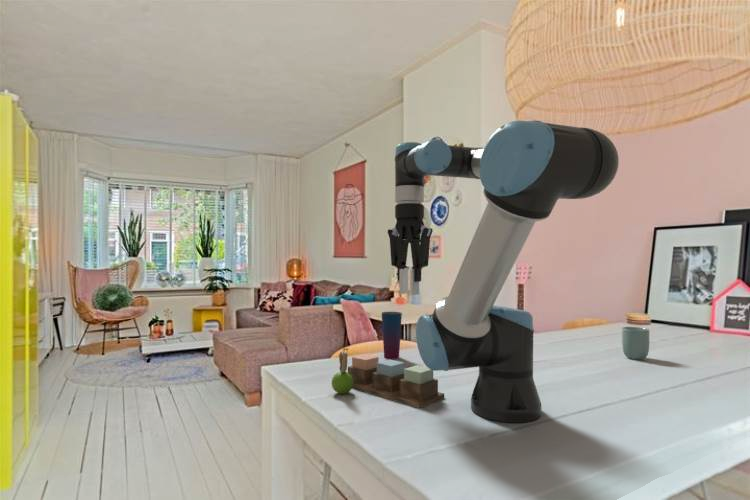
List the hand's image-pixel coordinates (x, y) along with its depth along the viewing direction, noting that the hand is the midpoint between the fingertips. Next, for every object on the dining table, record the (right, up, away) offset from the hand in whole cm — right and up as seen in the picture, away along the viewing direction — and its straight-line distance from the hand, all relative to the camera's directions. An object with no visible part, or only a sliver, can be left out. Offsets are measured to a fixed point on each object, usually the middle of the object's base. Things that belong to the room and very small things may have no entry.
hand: (409, 293), depth 117 cm
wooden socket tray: (-5, -25, -2) cm, 25 cm away
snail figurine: (-17, -25, -5) cm, 30 cm away
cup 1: (-3, -25, +34) cm, 43 cm away
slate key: (-5, -20, -2) cm, 21 cm away
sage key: (+2, -20, -9) cm, 22 cm away
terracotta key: (-11, -20, +4) cm, 24 cm away
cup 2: (+79, -25, +34) cm, 89 cm away
